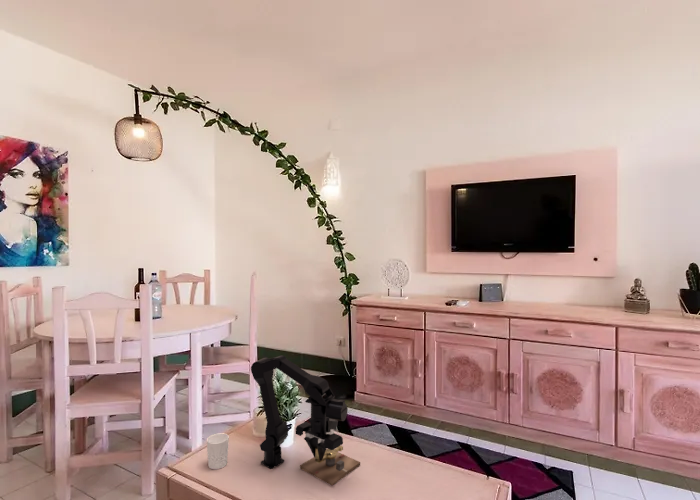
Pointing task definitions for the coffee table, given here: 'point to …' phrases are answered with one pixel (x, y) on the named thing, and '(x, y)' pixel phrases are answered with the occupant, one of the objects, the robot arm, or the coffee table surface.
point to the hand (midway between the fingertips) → (318, 458)
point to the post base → (331, 468)
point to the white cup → (217, 450)
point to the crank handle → (327, 454)
